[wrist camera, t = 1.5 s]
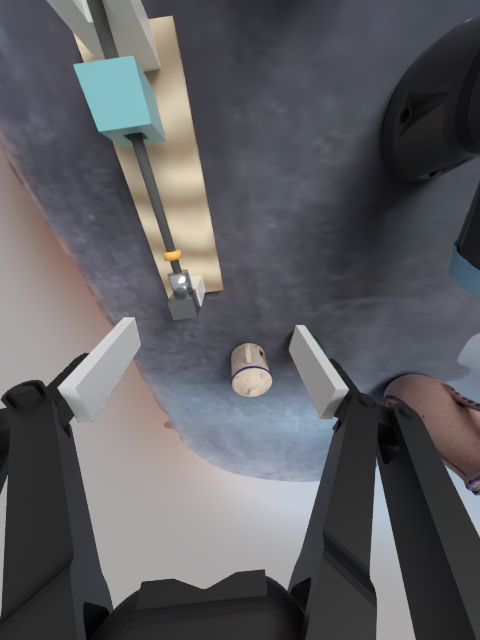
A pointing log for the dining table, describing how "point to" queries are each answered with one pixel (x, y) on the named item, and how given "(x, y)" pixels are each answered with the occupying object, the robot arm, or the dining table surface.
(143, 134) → the sleeve
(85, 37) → the cord jig
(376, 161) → the dining table surface
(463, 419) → the ceramic pitcher
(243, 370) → the teacup with lid
